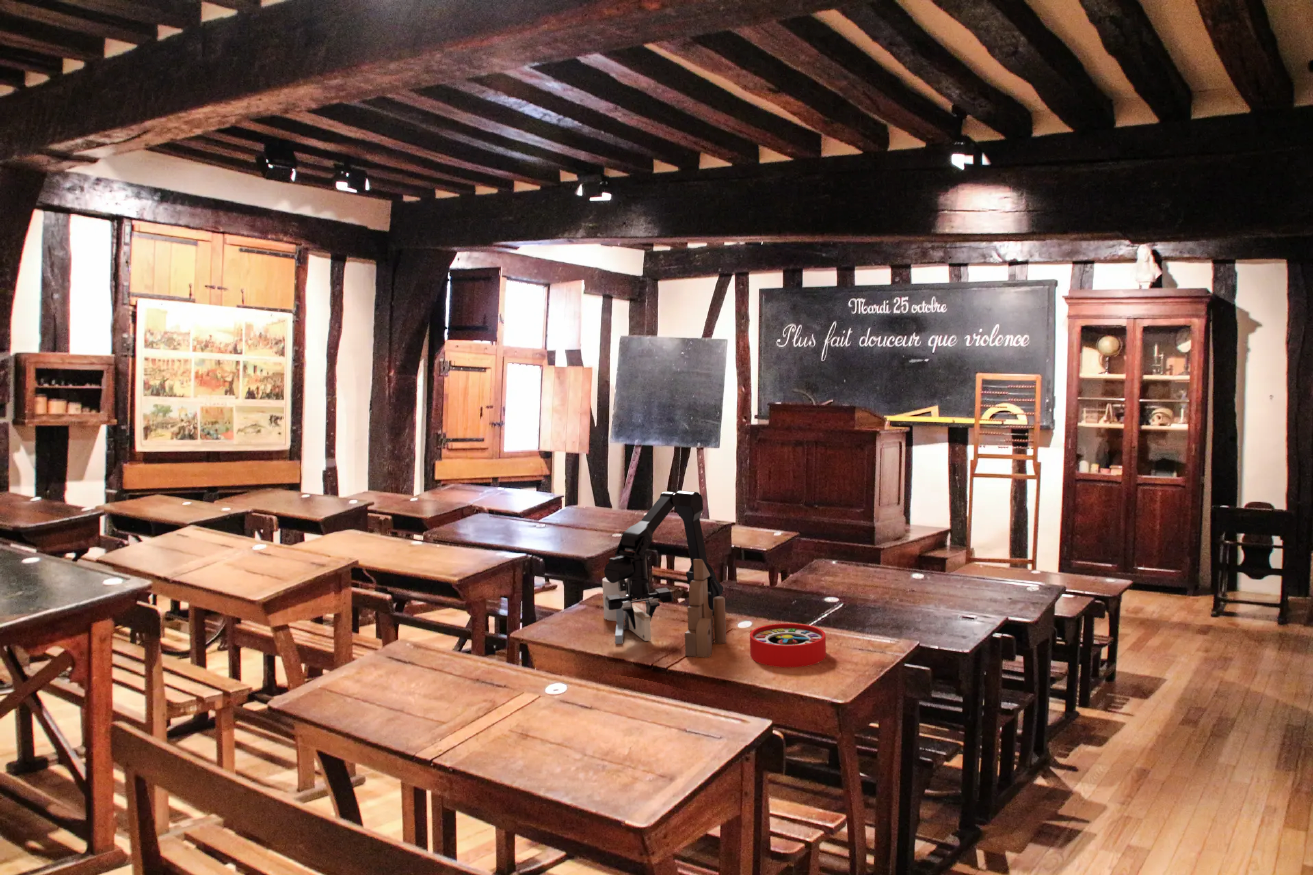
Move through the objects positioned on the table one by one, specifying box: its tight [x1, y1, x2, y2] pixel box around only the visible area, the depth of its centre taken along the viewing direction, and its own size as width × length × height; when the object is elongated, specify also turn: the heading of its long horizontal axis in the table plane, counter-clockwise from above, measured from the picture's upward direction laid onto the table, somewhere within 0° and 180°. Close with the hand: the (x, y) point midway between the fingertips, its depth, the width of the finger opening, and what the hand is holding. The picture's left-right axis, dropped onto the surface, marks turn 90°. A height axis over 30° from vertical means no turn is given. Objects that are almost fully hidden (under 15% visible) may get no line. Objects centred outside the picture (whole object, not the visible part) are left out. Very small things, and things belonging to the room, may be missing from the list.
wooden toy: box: [684, 559, 727, 658], centre depth 267 cm, size 16×7×25 cm, turn 157°
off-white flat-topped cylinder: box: [601, 576, 627, 622], centre depth 301 cm, size 8×8×12 cm
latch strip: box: [614, 608, 625, 645], centre depth 281 cm, size 2×14×8 cm, turn 0°
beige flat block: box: [629, 605, 652, 642], centre depth 281 cm, size 13×2×7 cm, turn 22°
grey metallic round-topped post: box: [624, 595, 634, 631], centre depth 290 cm, size 4×4×10 cm
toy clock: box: [749, 622, 827, 668], centre depth 260 cm, size 20×6×20 cm
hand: (641, 627), depth 279 cm, fingers open, 3 cm apart
